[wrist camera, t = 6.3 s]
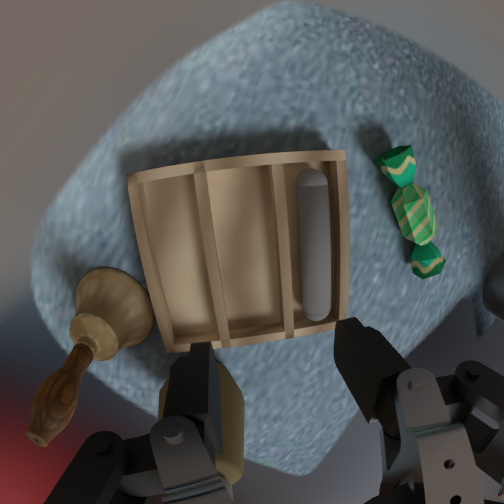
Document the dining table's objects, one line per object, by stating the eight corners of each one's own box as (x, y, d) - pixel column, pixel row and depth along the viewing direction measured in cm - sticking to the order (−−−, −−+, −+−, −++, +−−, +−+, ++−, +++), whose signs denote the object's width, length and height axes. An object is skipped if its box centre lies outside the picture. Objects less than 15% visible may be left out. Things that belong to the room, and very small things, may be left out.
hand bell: (78, 256, 22) (-40, 355, 6) (161, 282, 23) (97, 434, 8) (75, 329, 24) (1, 442, 8) (148, 355, 25) (109, 495, 10)
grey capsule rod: (320, 167, 21) (331, 167, 18) (325, 309, 24) (334, 323, 22) (290, 169, 20) (298, 169, 18) (299, 314, 24) (306, 328, 22)
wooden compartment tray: (332, 151, 21) (345, 149, 19) (336, 313, 26) (346, 326, 23) (136, 173, 20) (126, 174, 18) (170, 337, 25) (166, 353, 22)
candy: (366, 160, 22) (391, 160, 18) (393, 146, 22) (419, 144, 18) (406, 269, 26) (429, 283, 22) (428, 252, 26) (452, 264, 22)
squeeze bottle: (254, 360, 26) (288, 532, 9) (225, 409, 28) (237, 552, 11) (175, 336, 25) (143, 520, 8) (157, 390, 27) (131, 538, 9)
